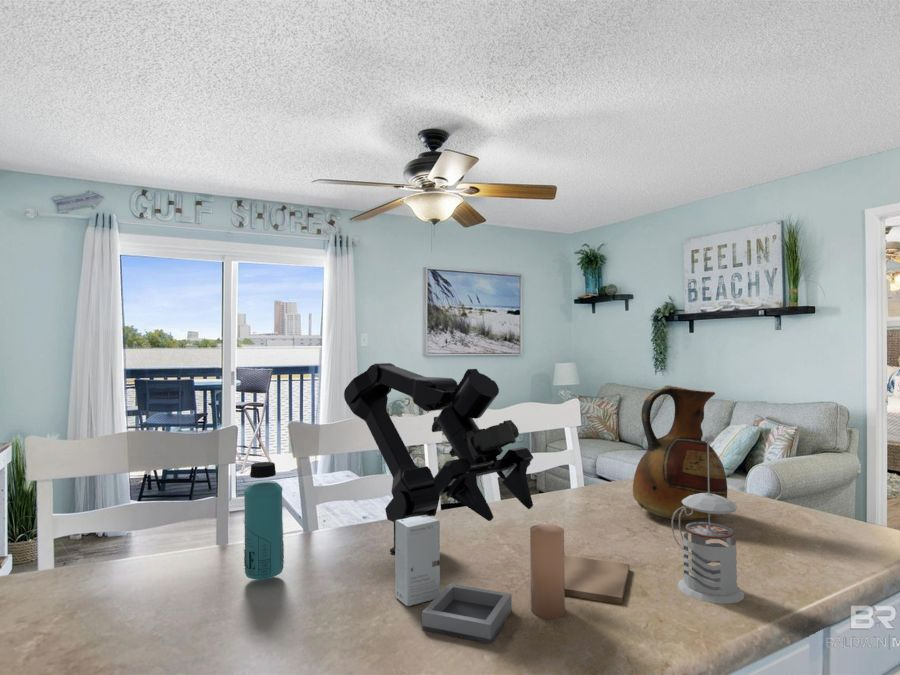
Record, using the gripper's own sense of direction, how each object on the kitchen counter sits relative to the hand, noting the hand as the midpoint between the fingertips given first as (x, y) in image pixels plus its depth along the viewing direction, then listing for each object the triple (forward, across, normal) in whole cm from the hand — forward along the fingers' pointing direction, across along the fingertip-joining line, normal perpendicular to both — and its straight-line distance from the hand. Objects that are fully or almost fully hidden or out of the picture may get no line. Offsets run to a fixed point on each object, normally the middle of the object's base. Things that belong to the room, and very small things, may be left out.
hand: (511, 513), depth 88 cm
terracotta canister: (+14, 0, +4) cm, 15 cm away
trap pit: (+10, -11, +8) cm, 17 cm away
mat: (+12, +13, +6) cm, 19 cm away
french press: (+23, +25, -4) cm, 34 cm away
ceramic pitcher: (+8, +59, +11) cm, 61 cm away
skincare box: (+2, -12, +16) cm, 20 cm away
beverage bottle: (-13, -27, +32) cm, 44 cm away
